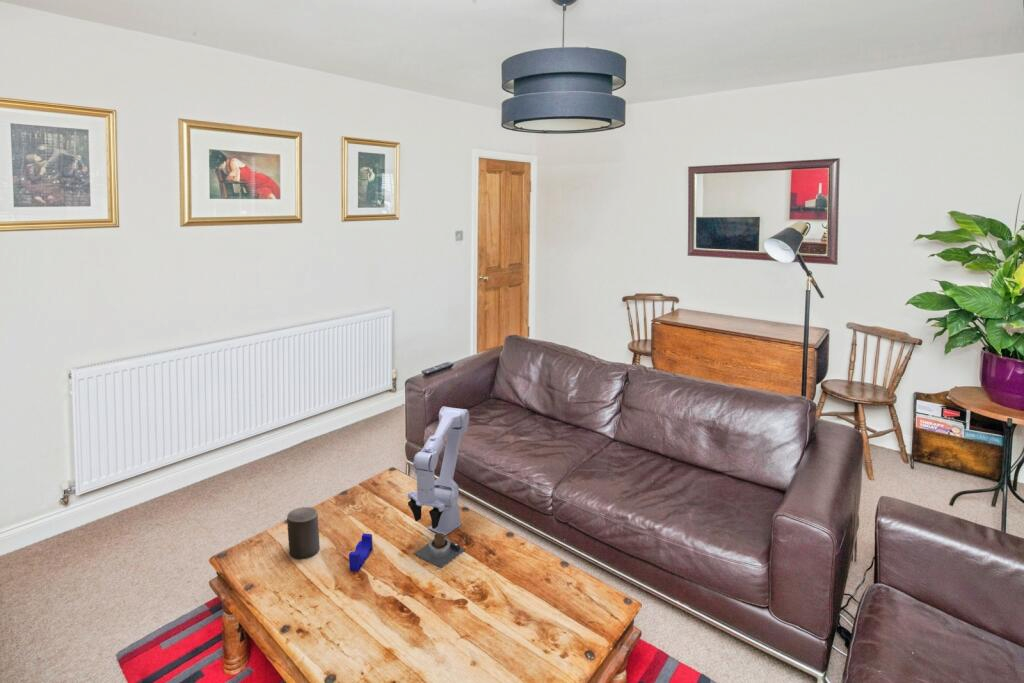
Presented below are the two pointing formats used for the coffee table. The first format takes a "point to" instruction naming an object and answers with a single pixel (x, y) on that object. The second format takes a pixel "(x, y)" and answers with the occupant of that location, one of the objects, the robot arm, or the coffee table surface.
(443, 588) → the coffee table surface
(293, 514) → the pillar candle
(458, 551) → the cup bracket
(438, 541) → the dowel
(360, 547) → the cable clip
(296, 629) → the coffee table surface
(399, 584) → the coffee table surface
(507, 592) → the coffee table surface
